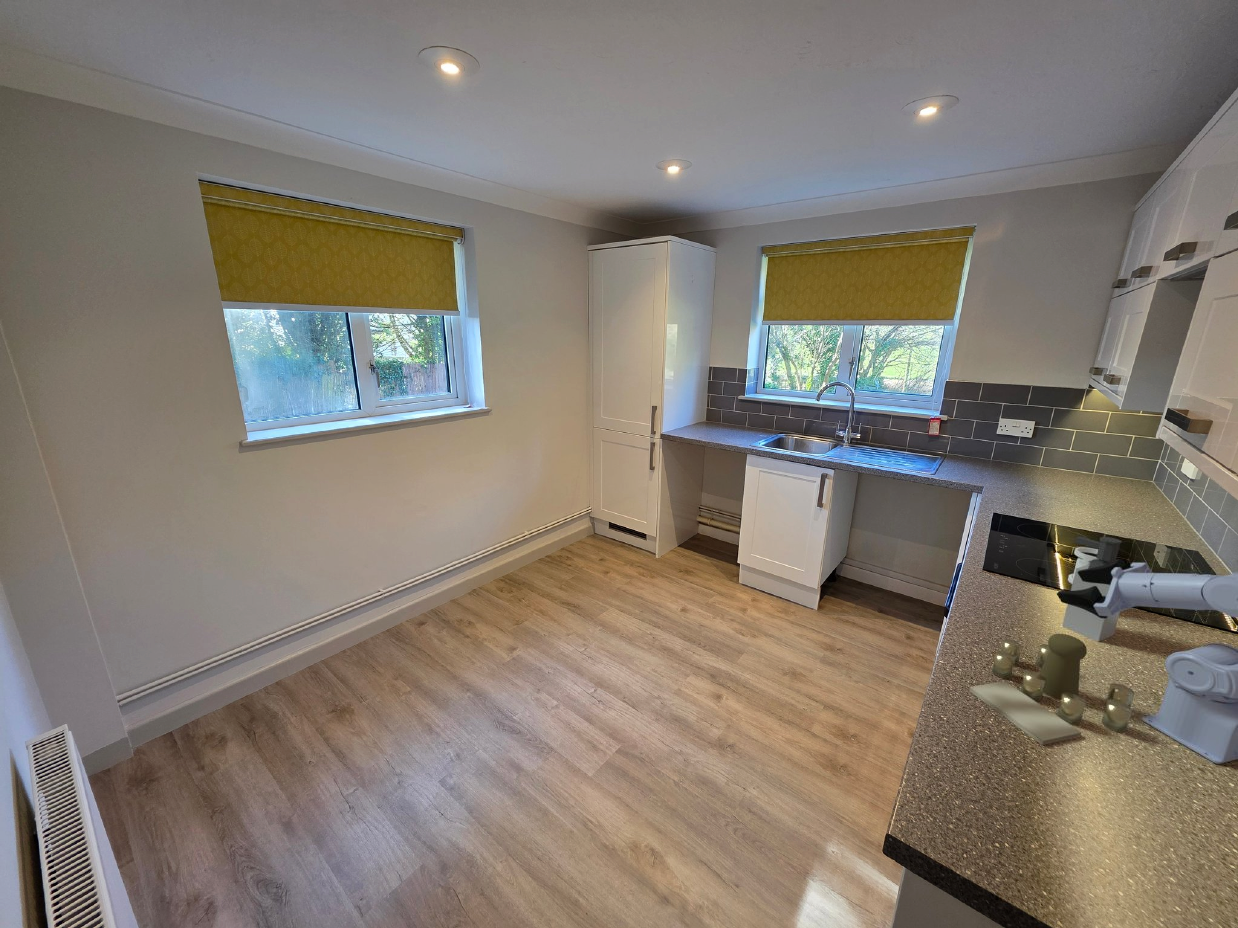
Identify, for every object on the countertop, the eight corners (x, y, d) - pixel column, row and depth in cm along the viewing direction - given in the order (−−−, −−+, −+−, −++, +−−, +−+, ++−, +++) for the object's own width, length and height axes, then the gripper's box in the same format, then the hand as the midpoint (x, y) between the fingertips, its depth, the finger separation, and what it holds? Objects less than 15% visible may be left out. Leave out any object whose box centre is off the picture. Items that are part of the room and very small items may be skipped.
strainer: (1092, 614, 116) (1107, 556, 113) (1057, 600, 123) (1070, 545, 119) (1107, 608, 119) (1122, 551, 116) (1072, 595, 125) (1085, 541, 122)
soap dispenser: (1065, 615, 116) (1086, 528, 111) (1113, 635, 108) (1138, 542, 103) (1049, 621, 113) (1070, 533, 108) (1098, 641, 106) (1122, 547, 100)
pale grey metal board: (1080, 736, 80) (1081, 732, 80) (1042, 744, 78) (1043, 740, 78) (1003, 684, 92) (1004, 680, 92) (969, 690, 90) (969, 686, 90)
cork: (1086, 704, 87) (1101, 650, 84) (1047, 699, 88) (1060, 645, 86) (1064, 681, 93) (1076, 630, 90) (1027, 677, 94) (1039, 627, 91)
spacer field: (1155, 725, 82) (1161, 705, 81) (1089, 740, 79) (1095, 719, 78) (1028, 651, 102) (1032, 634, 101) (972, 661, 99) (975, 643, 98)
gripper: (1168, 547, 85) (1078, 549, 98) (1128, 593, 80) (1039, 588, 93) (1190, 582, 84) (1097, 579, 97) (1151, 630, 80) (1059, 621, 93)
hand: (1070, 586), depth 95 cm, fingers open, 7 cm apart
